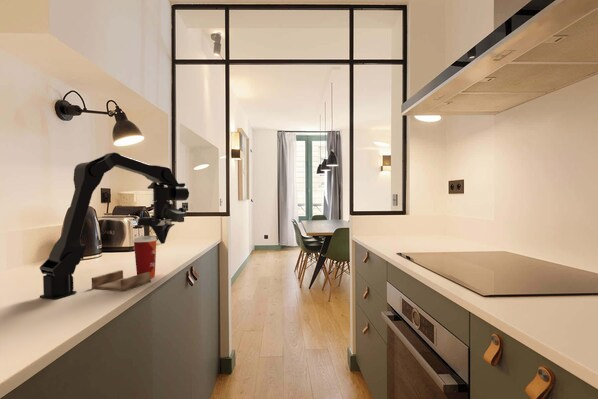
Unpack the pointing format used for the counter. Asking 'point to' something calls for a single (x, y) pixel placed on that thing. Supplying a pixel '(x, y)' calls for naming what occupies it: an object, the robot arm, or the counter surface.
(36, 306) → the counter surface
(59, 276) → the robot arm
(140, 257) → the paper cup
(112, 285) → the u rest
